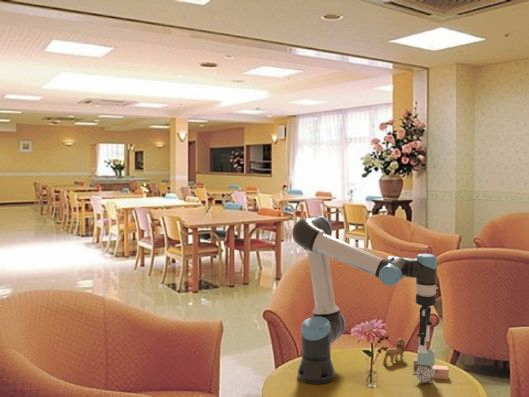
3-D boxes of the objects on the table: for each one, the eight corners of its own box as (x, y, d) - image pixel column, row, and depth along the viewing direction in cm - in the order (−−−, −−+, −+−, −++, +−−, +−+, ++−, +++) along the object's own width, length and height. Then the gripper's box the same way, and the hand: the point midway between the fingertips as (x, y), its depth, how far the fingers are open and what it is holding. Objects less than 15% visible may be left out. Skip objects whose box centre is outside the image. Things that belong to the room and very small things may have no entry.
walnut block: (413, 370, 221) (413, 360, 221) (415, 365, 226) (415, 356, 225) (433, 372, 218) (433, 363, 218) (434, 368, 223) (434, 358, 222)
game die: (429, 393, 207) (439, 380, 201) (408, 384, 208) (418, 371, 202) (432, 374, 214) (441, 361, 207) (411, 366, 215) (420, 352, 209)
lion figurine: (397, 355, 237) (397, 335, 236) (408, 358, 233) (408, 338, 232) (380, 365, 226) (380, 345, 225) (391, 368, 222) (391, 348, 222)
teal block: (417, 364, 207) (417, 351, 206) (418, 360, 211) (418, 348, 210) (433, 366, 205) (433, 353, 204) (434, 362, 208) (434, 350, 208)
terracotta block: (432, 378, 212) (432, 368, 212) (431, 374, 216) (431, 364, 216) (448, 379, 211) (448, 369, 211) (447, 375, 215) (447, 365, 215)
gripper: (433, 303, 192) (431, 359, 194) (438, 287, 215) (436, 337, 217) (411, 301, 195) (410, 356, 197) (419, 285, 218) (417, 334, 220)
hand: (424, 346), depth 207 cm, fingers open, 13 cm apart
